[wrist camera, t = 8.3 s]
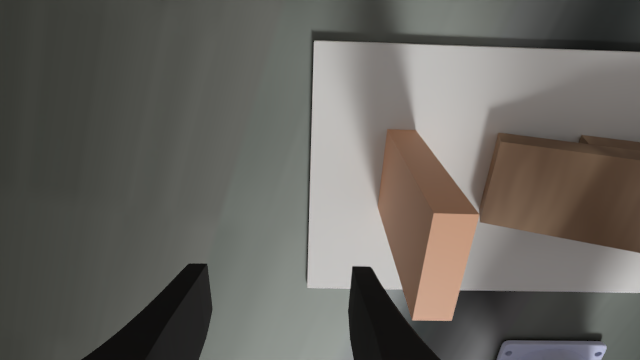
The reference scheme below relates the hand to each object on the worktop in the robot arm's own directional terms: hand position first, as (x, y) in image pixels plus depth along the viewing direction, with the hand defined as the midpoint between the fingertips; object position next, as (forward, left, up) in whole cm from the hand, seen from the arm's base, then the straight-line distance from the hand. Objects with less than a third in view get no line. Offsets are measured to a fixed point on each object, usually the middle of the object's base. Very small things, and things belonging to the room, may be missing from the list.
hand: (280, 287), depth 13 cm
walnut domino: (0, -11, -9) cm, 14 cm away
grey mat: (-1, -16, -10) cm, 19 cm away
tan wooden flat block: (0, -6, -10) cm, 12 cm away
